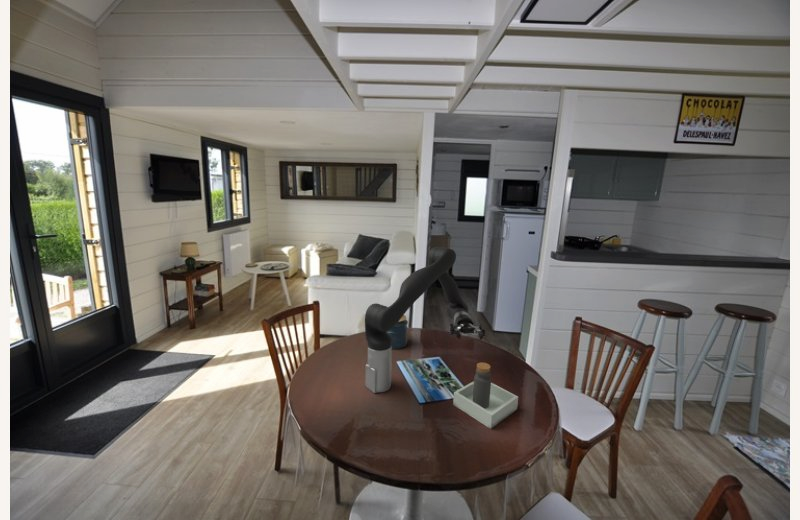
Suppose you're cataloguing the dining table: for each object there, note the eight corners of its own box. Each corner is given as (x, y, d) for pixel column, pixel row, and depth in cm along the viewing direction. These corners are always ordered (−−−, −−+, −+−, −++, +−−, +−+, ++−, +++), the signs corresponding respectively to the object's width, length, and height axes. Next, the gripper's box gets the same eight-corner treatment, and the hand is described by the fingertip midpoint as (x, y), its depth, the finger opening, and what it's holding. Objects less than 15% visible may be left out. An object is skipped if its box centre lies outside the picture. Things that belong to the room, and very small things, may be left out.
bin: (490, 429, 107) (491, 415, 106) (453, 404, 119) (453, 392, 118) (517, 409, 118) (518, 396, 117) (480, 388, 130) (481, 377, 129)
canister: (383, 337, 173) (384, 305, 170) (408, 338, 172) (409, 306, 169) (379, 348, 161) (380, 314, 157) (406, 350, 159) (407, 316, 156)
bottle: (489, 410, 115) (492, 370, 112) (472, 407, 116) (475, 368, 113) (488, 400, 121) (491, 362, 118) (472, 397, 122) (475, 360, 119)
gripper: (447, 313, 147) (453, 327, 131) (479, 314, 147) (489, 328, 131) (446, 329, 148) (452, 345, 132) (478, 330, 148) (487, 346, 132)
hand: (470, 337), depth 131 cm, fingers open, 8 cm apart
